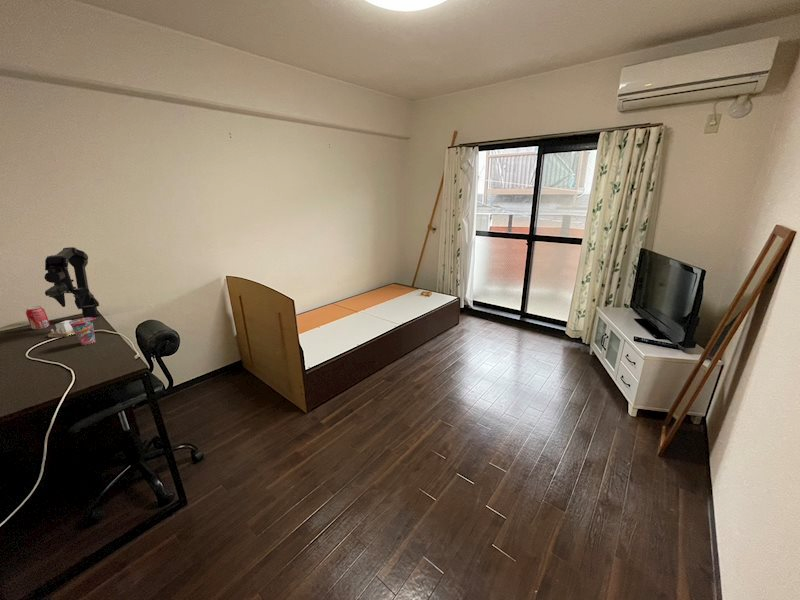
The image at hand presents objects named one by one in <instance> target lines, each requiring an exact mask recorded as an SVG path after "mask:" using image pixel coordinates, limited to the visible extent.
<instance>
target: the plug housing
mask: <svg viewBox="0 0 800 600" xmlns="http://www.w3.org/2000/svg"><path fill="white" fill-rule="evenodd" d="M70 321H72V319H68V320H67V319H65V320H64V321H61V322H58V323H55V325H54V326H55V328H56V329H58V330H59V332H61V330H60V329H63V331H64V332H69V331H71V330H73V328H72V326H71V325H70V324H69V322H70Z"/></svg>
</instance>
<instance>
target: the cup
mask: <svg viewBox="0 0 800 600" xmlns="http://www.w3.org/2000/svg"><path fill="white" fill-rule="evenodd" d="M96 319H97V317H94V318H92V317H87V318H83V317H80V318H76V319H73V320H72V319H71V320H72V321H70V322H69V324H70V325H71V326H72V328H73V330H74V332H75V334H74V335H75V336H76V338H77V339H78V341H79V343H80V345H81V346H87V344H88V345H91V343H92V344H94V343H96V336H95V328H94V323H93V320H96ZM93 342H94V343H93Z"/></svg>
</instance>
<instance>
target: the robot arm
mask: <svg viewBox="0 0 800 600" xmlns="http://www.w3.org/2000/svg"><path fill="white" fill-rule="evenodd" d="M88 261H89V256H88V254H87V252H85V251H83V250H80V249H77V248H76V247H73V246H72V247H71V246H70V247H64V248H62V249H61V250H60V251H59V252H58V253H56V254H54V255H53V254H51V255H47V256H46V258H45V260H44V262H45V263H44V264H45V265H44V270H45V271H47V272H46V273H45V274H44V276H43V277H44V280H45V281H46V282H48V283H51V284H53V285H52V286H51V287H49V288H48V289H46V290H45V292H44V295H45V297H48V298H53V299H54V300H55V301H57V303H58V304H59V305H60V306H61V307H62V308H65V307H66V299H65V298H66V297H65V294H72V295H73V297H74V304H75V306H76V307H77V309H78V310H81V312H82V318H87V317H92V318H97V317H99V316H102V313H99V311H98V308H97V307H100V303H99V301H98V299H96V298H95V296H94V294H93V293H92V292H91V291H90V289H89V283H88V277H87V271H86V267H87V266H88V263H89V262H88ZM69 265H70V266H72V267H73V269H74V271H73V272H74V275H75V280H74V279H71V274H70V272H69ZM75 281H76V286H74V284H73V282H75Z"/></svg>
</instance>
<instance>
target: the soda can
mask: <svg viewBox="0 0 800 600" xmlns="http://www.w3.org/2000/svg"><path fill="white" fill-rule="evenodd" d="M25 314H26V317H27V320H28V322H29V325H30V327H31V329H32V330H43V329H47V328H48V327H50V321H49V319H48V316H47V313H46V311H45V308H43V307H42V306H41V305H38V306H32V307H31V306H30V307H27V308H25Z"/></svg>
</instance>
